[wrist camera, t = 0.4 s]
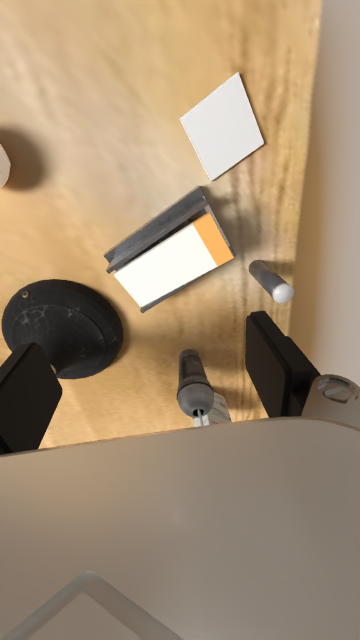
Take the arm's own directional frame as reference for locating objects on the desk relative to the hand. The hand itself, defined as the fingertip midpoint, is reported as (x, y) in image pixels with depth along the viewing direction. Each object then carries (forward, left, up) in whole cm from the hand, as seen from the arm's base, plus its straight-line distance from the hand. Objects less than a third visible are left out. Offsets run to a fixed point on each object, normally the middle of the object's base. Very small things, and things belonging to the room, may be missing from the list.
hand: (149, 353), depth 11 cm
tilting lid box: (+5, -1, -35) cm, 36 cm away
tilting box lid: (+5, -1, -27) cm, 28 cm away
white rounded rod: (+17, +11, -35) cm, 41 cm away
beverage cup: (+28, -11, -35) cm, 47 cm away
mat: (-5, +15, -35) cm, 39 cm away
